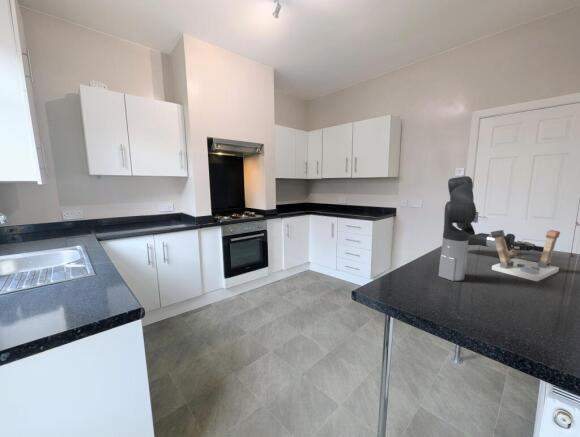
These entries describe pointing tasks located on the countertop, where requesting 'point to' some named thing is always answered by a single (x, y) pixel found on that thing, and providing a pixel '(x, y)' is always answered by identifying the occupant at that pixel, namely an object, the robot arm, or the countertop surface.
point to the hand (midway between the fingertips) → (545, 249)
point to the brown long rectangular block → (549, 246)
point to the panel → (526, 275)
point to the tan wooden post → (501, 246)
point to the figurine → (512, 252)
